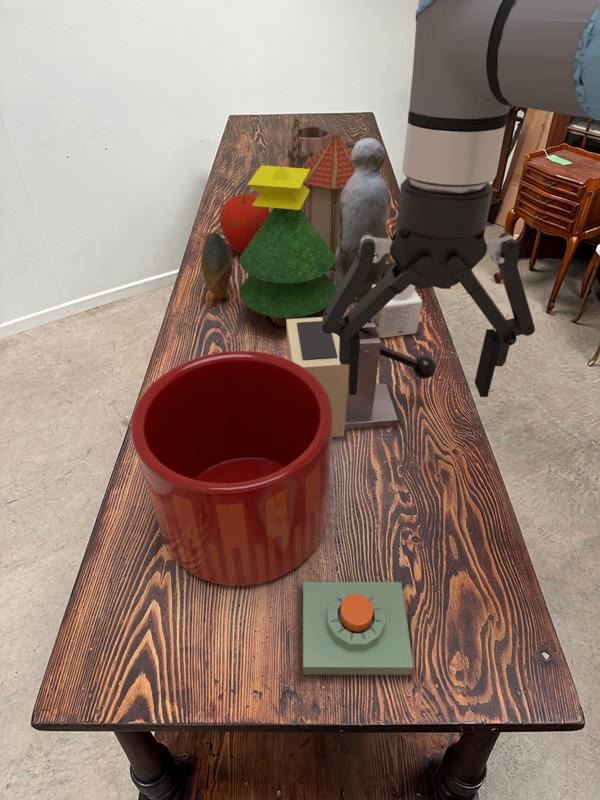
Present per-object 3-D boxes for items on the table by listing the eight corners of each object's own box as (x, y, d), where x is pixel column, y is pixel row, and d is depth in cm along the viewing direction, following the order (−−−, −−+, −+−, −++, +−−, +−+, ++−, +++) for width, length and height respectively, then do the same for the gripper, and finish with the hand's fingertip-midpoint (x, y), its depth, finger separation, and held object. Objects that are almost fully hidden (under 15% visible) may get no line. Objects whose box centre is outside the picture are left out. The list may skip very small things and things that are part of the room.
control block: (399, 590, 67) (403, 574, 64) (410, 675, 60) (416, 660, 57) (303, 590, 67) (303, 574, 64) (302, 674, 60) (302, 660, 57)
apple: (236, 236, 138) (231, 180, 128) (280, 243, 134) (278, 187, 125) (214, 258, 129) (207, 200, 119) (259, 267, 126) (256, 208, 116)
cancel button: (370, 601, 62) (371, 593, 61) (373, 632, 60) (374, 625, 58) (339, 601, 62) (339, 593, 61) (340, 632, 60) (341, 625, 58)
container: (368, 317, 111) (373, 259, 102) (403, 312, 112) (412, 255, 103) (379, 339, 105) (386, 280, 96) (417, 334, 106) (427, 275, 97)
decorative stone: (230, 312, 112) (222, 245, 102) (201, 310, 113) (191, 244, 103) (239, 288, 119) (233, 223, 109) (212, 286, 120) (204, 221, 110)
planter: (160, 465, 82) (131, 362, 68) (307, 441, 85) (308, 339, 72) (164, 608, 65) (127, 510, 52) (346, 571, 69) (357, 470, 55)
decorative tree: (325, 350, 103) (331, 194, 82) (229, 337, 106) (212, 184, 85) (342, 296, 116) (350, 151, 96) (256, 287, 119) (246, 144, 99)
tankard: (276, 221, 143) (273, 142, 130) (283, 196, 156) (281, 121, 142) (364, 225, 142) (371, 145, 128) (364, 198, 154) (370, 123, 140)
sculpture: (382, 271, 124) (398, 132, 104) (387, 305, 114) (405, 158, 93) (333, 270, 125) (339, 131, 104) (332, 304, 114) (339, 157, 94)
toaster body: (333, 387, 95) (336, 314, 84) (344, 436, 86) (349, 362, 76) (288, 390, 94) (286, 317, 84) (294, 440, 86) (293, 366, 75)
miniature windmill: (286, 228, 141) (283, 101, 120) (361, 229, 140) (371, 101, 120) (280, 275, 123) (275, 135, 103) (366, 276, 122) (378, 136, 102)
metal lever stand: (385, 389, 94) (395, 313, 84) (397, 425, 88) (410, 348, 77) (317, 394, 94) (319, 318, 83) (324, 431, 87) (327, 354, 76)
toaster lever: (423, 371, 89) (437, 355, 87) (429, 386, 86) (443, 370, 84) (346, 341, 83) (358, 323, 81) (350, 355, 80) (363, 337, 78)
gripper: (583, 168, 47) (524, 370, 60) (298, 168, 48) (300, 367, 61) (620, 193, 41) (546, 412, 54) (294, 192, 42) (297, 408, 55)
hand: (416, 388), depth 57 cm, fingers open, 13 cm apart
